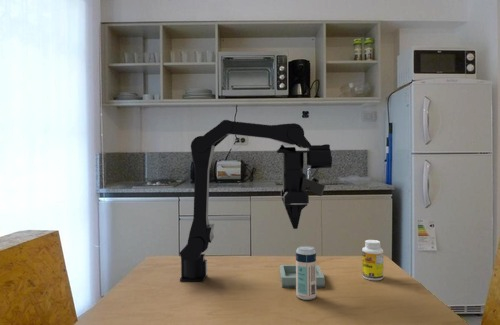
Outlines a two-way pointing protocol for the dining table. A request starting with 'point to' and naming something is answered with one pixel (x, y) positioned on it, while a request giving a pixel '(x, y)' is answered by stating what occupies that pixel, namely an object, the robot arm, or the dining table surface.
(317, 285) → the dish
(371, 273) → the supplement bottle
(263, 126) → the robot arm
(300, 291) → the beer can
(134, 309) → the dining table surface
